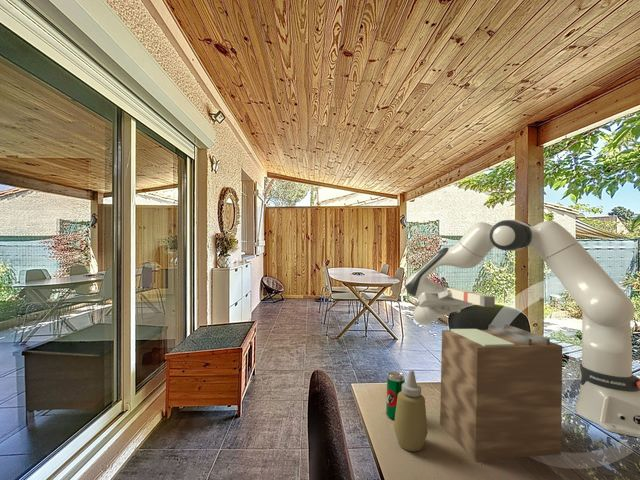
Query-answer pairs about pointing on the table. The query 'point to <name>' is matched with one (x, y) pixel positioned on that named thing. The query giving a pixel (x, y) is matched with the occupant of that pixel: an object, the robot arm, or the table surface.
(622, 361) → the robot arm
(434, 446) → the table surface
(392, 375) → the soda can
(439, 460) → the table surface
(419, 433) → the squeeze bottle
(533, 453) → the cabinet
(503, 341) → the plate
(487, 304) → the red-banded cream beam
